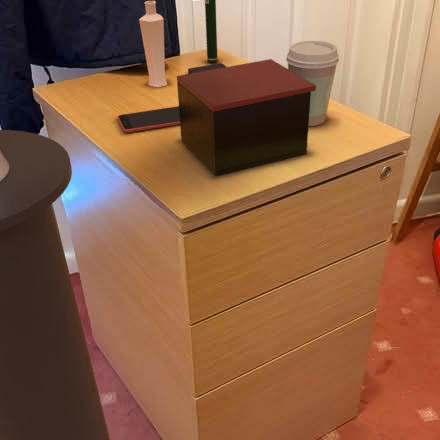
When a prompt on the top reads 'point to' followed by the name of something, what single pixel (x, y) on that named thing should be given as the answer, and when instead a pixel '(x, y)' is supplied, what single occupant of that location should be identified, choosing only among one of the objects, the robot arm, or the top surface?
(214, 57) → the flashlight
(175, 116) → the smartphone
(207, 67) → the phone
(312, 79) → the coffee cup
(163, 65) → the white pentagonal vase
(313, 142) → the top surface
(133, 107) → the top surface
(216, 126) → the box
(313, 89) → the box lid
